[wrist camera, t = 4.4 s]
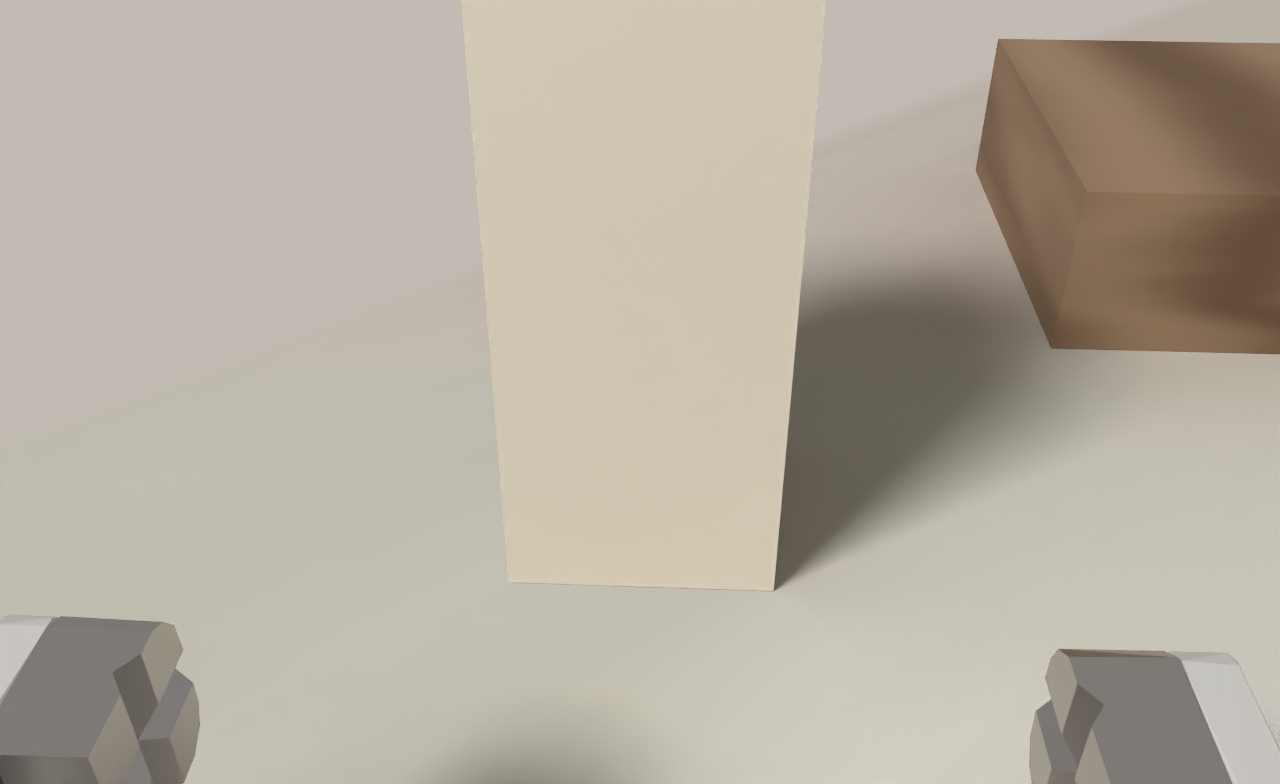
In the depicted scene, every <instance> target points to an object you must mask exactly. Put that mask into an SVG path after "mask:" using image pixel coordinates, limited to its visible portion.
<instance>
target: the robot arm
mask: <svg viewBox="0 0 1280 784" xmlns="http://www.w3.org/2000/svg"><path fill="white" fill-rule="evenodd" d="M182 651H183V648H182V646H181V643H180V640H179V637H178V635H177V632H176V629H175V626H174V625H171V624H168V623H164V622H152V621H134V620H116V619H99V618H81V617H63V616H61V617H48V616H29V615H11V614H9V615H7V616H6V617H4V618H3V619H1V620H0V784H183V783H184V782H185V779H186V777H187V774H188V771H189V769H190V766H191V764H192V761H193V759H194V756H195V751H196V745H197V739H198V733H199V727H200V718H199V703H198V698H197V695H196V691H195V688H194V684H193V683H192V682H191V681H190V680H189V679H187V678H186V677H185V676H184V675H183V674H181V673H180V672H179V671H178V670H176V669H175V667H176V665H177V662H178V660H179V658H180V656H181V654H182ZM1045 679H1046V682H1047V686H1048V689H1049V693H1050V696H1051V700H1050V701H1049V702H1047V703H1046V704H1045V705H1043V706H1042V707H1041V708H1039V709H1038V710H1037V711H1036V713H1035V717H1034V722H1033V726H1032V730H1031V735H1030V760H1029V766H1030V774H1031V781H1032V784H1280V748H1279V746H1278V744H1277V742H1276V740H1275V738H1274V736H1273V734H1272V732H1271V730H1270V728H1269V726H1268V724H1267V722H1266V720H1265V718H1264V715H1263V713H1262V711H1261V709H1260V707H1259V705H1258V703H1257V701H1256V699H1255V697H1254V695H1253V693H1252V691H1251V689H1250V687H1249V685H1248V682H1247V680H1246V678H1245V676H1244V674H1243V672H1242V670H1241V668H1240V666H1239V664H1238V662H1237V661H1236V660H1235V659H1234V658H1233V657H1232V656H1230V655H1229V654H1228V653H1211V652H1169V653H1167V652H1165V651H1135V650H1086V649H1058V650H1057V651H1056V652H1055V654H1054V655H1053V656H1052V658H1051V660H1050V663H1049V667H1048V670H1047V673H1046V677H1045Z"/></svg>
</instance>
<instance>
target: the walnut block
mask: <svg viewBox="0 0 1280 784" xmlns="http://www.w3.org/2000/svg"><path fill="white" fill-rule="evenodd" d="M976 172H977V175H978V177H979V179H980V182H981V184H982V186H983V189H984V191H985V193H986V196H987V198H988V201H989V203H990V205H991V208H992V210H993V212H994V215H995V217H996V219H997V222H998V224H999V226H1000V229H1001V231H1002V233H1003V236H1004V238H1005V241H1006V243H1007V245H1008V248H1009V250H1010V252H1011V255H1012V257H1013V259H1014V262H1015V264H1016V266H1017V269H1018V271H1019V273H1020V276H1021V278H1022V281H1023V283H1024V285H1025V288H1026V290H1027V292H1028V295H1029V297H1030V299H1031V302H1032V304H1033V306H1034V309H1035V311H1036V313H1037V316H1038V318H1039V321H1040V323H1041V325H1042V328H1043V330H1044V332H1045V335H1046V337H1047V339H1048V342H1049V344H1050V346H1051V348H1056V349H1095V350H1135V351H1174V352H1213V353H1252V354H1280V44H1278V43H1215V42H1152V41H1090V40H1027V39H1026V40H1024V39H998V43H997V49H996V55H995V61H994V67H993V73H992V78H991V84H990V90H989V96H988V102H987V108H986V113H985V119H984V125H983V131H982V137H981V143H980V148H979V154H978V160H977V166H976Z"/></svg>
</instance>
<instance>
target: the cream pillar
mask: <svg viewBox="0 0 1280 784" xmlns="http://www.w3.org/2000/svg"><path fill="white" fill-rule="evenodd" d="M825 9H826V0H462V14H463V25H464V38H465V50H466V63H467V75H468V87H469V100H470V111H471V123H472V137H473V149H474V161H475V173H476V186H477V198H478V210H479V223H480V235H481V247H482V260H483V272H484V284H485V296H486V309H487V321H488V333H489V346H490V358H491V370H492V382H493V395H494V407H495V419H496V432H497V444H498V456H499V468H500V481H501V493H502V505H503V518H504V530H505V542H506V554H507V567H508V579H509V583H540V584H571V585H601V586H632V587H663V588H694V589H725V590H755V591H774V582H775V571H776V559H777V548H778V537H779V526H780V515H781V503H782V492H783V481H784V470H785V458H786V447H787V436H788V425H789V414H790V402H791V391H792V380H793V369H794V358H795V346H796V335H797V324H798V313H799V301H800V290H801V279H802V268H803V257H804V245H805V234H806V223H807V212H808V201H809V189H810V178H811V167H812V156H813V144H814V133H815V122H816V121H815V120H816V111H817V100H818V88H819V77H820V65H821V54H822V44H823V31H824V21H825Z"/></svg>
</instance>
